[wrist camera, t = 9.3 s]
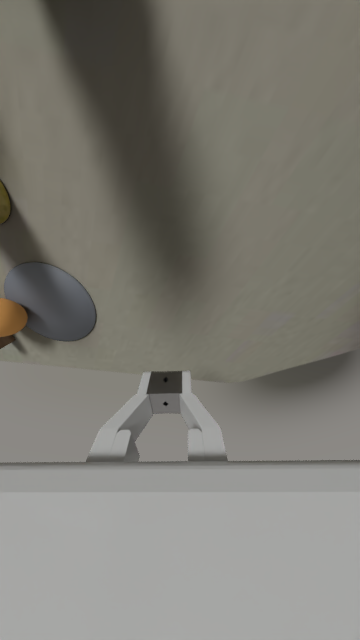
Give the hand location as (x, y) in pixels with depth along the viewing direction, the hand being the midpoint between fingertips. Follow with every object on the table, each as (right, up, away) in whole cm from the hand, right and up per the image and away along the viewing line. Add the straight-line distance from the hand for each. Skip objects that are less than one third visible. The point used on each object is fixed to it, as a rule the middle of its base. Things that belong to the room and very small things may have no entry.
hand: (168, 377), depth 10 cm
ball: (-25, +4, +11) cm, 28 cm away
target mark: (-19, +6, +14) cm, 24 cm away
